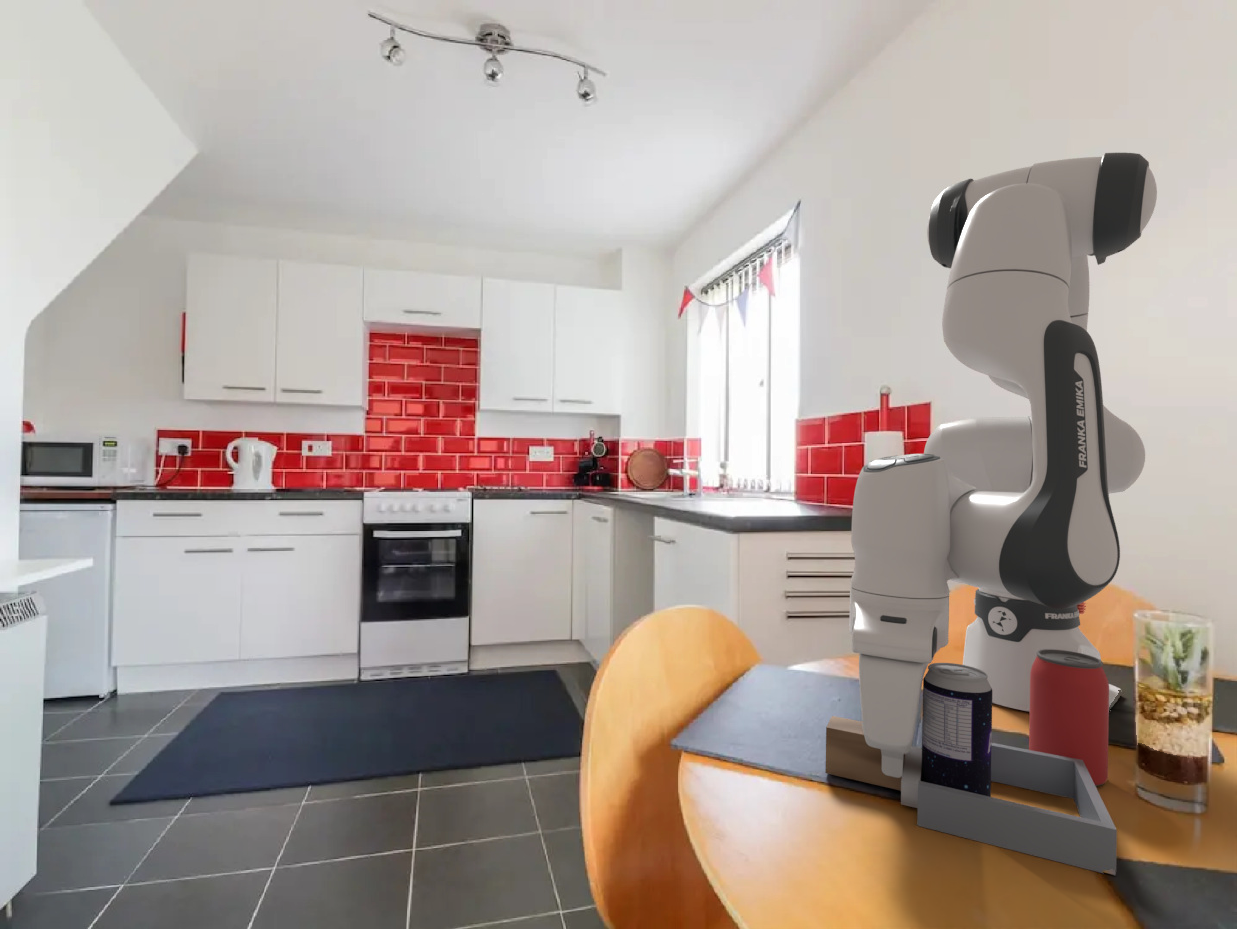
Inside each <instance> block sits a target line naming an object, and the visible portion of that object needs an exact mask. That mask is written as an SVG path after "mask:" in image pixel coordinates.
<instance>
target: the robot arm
mask: <svg viewBox="0 0 1237 929" xmlns="http://www.w3.org/2000/svg"><path fill="white" fill-rule="evenodd" d="M1149 163H1150V162H1149V160H1147V159H1146V158H1145V157H1144V156H1143V155H1142V154H1140V153H1135V152H1105V153H1104V154H1103V155H1102V156H1090V157H1087V156H1086V157H1077V158H1065V159H1057V160H1049V161H1042V162H1037V163H1036V162H1035V163H1034V164H1033V165H1030V166H1024V167H1021V168H1019V167H1018V168H1016V169H1015V168H1014V169H1011V170H1006V171H1002V172H999V173H995V174H991V175H988V176H984V177H981V178H979V179H978V178H977V179H975V180H974V178H968V179H964V180H962V181H959V182H957V183H954V184H951V185H950V186H948V187H945V188H944V189H943V190H942V191H941V192H940V193H939V195H938V196H937V197H936V198H935V199H934V201H933V203H932V206H931V209H930V212H929V213H930V214H929V216H928V219H927V220H928V221H927V227H926V228H927V229H926V236H927V237H926V238H927V243H928V245H929V251H930V254H931V256H932V258H933V259H934V261H935V262H937V263H938V264H939V265H940V266H942V267H943V268H946V269H950V271H949V275H948V281H947V286H946V293H945V298H944V305H943V312H942V321H941V322H942V323H941V324H942V327H941V328H942V336H943V341H944V343H945V345H946V347H947V349H948V350H949V352H950V353H951V354H952V355H953V357H954V358H955V359H956V360H958V361H959V362H960V363H961V364H963V366H966V367H967V368H969V369H971V370H972V371H976V372H977V373H980V374H984V375H986V376H988V378H989V379H990V380H991V382H993V383H994V385H996V386H998V387H1000V388H1002V389H1004V390H1005V391H1007V392H1010V393H1012V394H1015V395H1017V396H1020V397H1023V398H1024V399H1028V400H1029V404H1030V411H1031V413H1030V414H1031V415H1030V416H1017V417H1016V416H1015V417H1014V416H1009V417H1008V416H1007V417H1006V416H1004V417H994V416H993V417H971V418H966V419H965V418H964V419H958V420H954V421H948V422H944V423H941V424H939V425H938V426H937V427H936V428H935V429H934V430H933V431H932V432H931V434H930V435H929V437H928V438H927V440H926V443H925V446H924V451H923V453H910V454H908V453H907V454H903V455H891V456H884V457H880V458H875V459H873V460H871V461H870V462H868V463H866V464H865V465H864V466H862V468H861V470H860V472H859V474H858V477H857V480H856V484H855V488H854V495H853V500H852V502H853V503H852V511H851V512H852V513H851V514H852V515H851V538H850V539H851V540H850V541H851V546H852V550H853V554H854V569H853V574H852V576H851V578H850V584H849V585H850V587H849V621H848V622H849V624H848V625H849V626H848V629H849V630H848V631H849V634H850V635H851V651H852V652H853V653H856V654H858V680H859V682H858V683H859V695H860V697H859V700H860V710H861V721H862V726H863V733H864V737H865V741H866V743H867V745H869V746H870V747H874V748H878V749H881V754H882V772H883V773H884V774H885V775H888V776H892V777H896V778H900V777H902V775H903V761H904V754H905V755H906V754H907V753H909V752H910V750H911V747H912V746H913V743H914V738H915V733H916V725H917V720H918V719H917V718H918V713H919V706H920V701H921V700H920V699H921V698H920V697H921V693H922V692H921V691H922V688H923V686H922V685H923V679H924V677H925V674H926V673H925V672H926V670H927V669H928V666H929V665H930V664H932V663H933V662H932V661H933V660H934V657H935V655H936V653H937V652H939V651H940V649H941V648H945V647H947V645H948V644H949V629H950V628H949V627H950V626H949V623H950V622H949V621H950V587H949V584H948V581H951V582H954V583H961V584H965V585H968V586H971V587H974V588H977V589H976V590H975V595H974V596H975V597H974V598H973V604H974V614H975V615H976V616H977V617H976V619H975V620H974V621H972V623H970V624H968V626H966V631H965V638H964V648H963V657H962V665H966V666H970V667H974V668H977V669H980V670H982V671H984V672H985V673H986V674H987V675H988V678H987V680H988V682H989V684H990V686H991V688H992V704H996V705H999V706H1002V707H1006V708H1011V709H1015V710H1020V711H1024V712H1029V713H1030V671H1031V668H1032V665H1033V663H1034V661H1035V659H1036V657H1037V654H1036V652H1037V651H1039V650H1044V649H1055V650H1065V651H1072V652H1077V653H1082V654H1086V655H1090V656H1093V657H1096V658H1098V659H1099V660H1101V661H1102V656H1101V653H1100V650H1098V649H1097V648H1096V647H1095V646H1094V645H1093V644H1092V642H1091V641H1090V640H1089V639H1088V638H1087V636H1086V635H1085V634H1084V633H1083V631H1081V629H1080V627H1079V626H1081V620H1080V615H1083V614H1084V613H1085V611H1086V607H1087V605H1086V604H1087V603H1086V601H1088V600H1090V599H1092V598H1093V597H1094V596H1096V595H1098V594H1099V593H1100V592H1101V591H1102V590H1104V589H1105V588H1106V587H1107V586H1108V585H1109V584H1110V583H1112V581H1113V580H1114V578H1115V576H1116V574H1117V571H1118V569H1119V564H1120V560H1121V548H1120V540H1119V534H1118V533H1119V532H1118V531H1117V530H1118V529H1117V526H1116V522H1115V518H1114V515H1113V511H1112V510H1113V509H1112V506H1111V501H1110V495H1109V494H1116V493H1123V492H1125V491H1126V490H1128V489H1129V488H1130V487H1131V486H1132V485H1134V483H1135V482H1136V481H1137V480H1138V478H1139V477H1140V475H1141V474H1142V471H1143V469H1144V467H1145V462H1146V450H1145V449H1146V448H1145V445H1144V443H1143V440H1142V438H1141V436H1140V434H1139V433H1138V432H1137V431H1136V430H1135V429H1134V427H1132V426H1131V425H1130V424H1129V423H1128V422H1126V421H1125V420H1122V419H1121V418H1120V417H1118V416H1117V415H1115V414H1114V413H1112V412H1111V411H1110V410H1109V408H1107V407H1106V406H1105V405H1104V399H1103V387H1102V377H1101V375H1102V374H1101V368H1100V367H1101V366H1100V362H1099V357H1098V356H1099V355H1098V352H1097V348H1096V345H1095V343H1094V340H1093V338H1092V336H1091V335H1090V334H1089V332H1088V322H1089V320H1088V319H1089V306H1090V270H1089V267H1090V266H1089V261H1088V260H1089V259H1088V256H1090V257H1093V256H1094V257H1095V260H1096V263H1097V265H1098V266H1099V265H1102V264H1104V263H1105V262H1106V260H1107V258H1108V257H1110V256H1113V255H1115V254H1118V253H1119V252H1123V251H1125V250H1126V249H1128V248H1129V247H1130V246H1131V245H1132V244H1134V243H1136V241H1138V239H1140V238H1141V236H1142V233H1143V231H1144V229H1145V228H1146V227H1147V225H1148V224H1149V222H1150V219H1151V218H1152V216H1153V213H1154V211H1155V208H1156V204H1157V197H1158V195H1157V194H1158V189H1157V182H1156V179H1155V176H1154V174H1153V172H1152V170H1151V169H1150V164H1149ZM1118 690H1121V691H1122V689H1121V688H1120V687H1117V686H1115V685H1113V684H1110V683H1109V707H1110V705H1111V703H1112V702H1113V701H1114V699H1115V697H1116V696H1117V695H1118V693H1119V691H1118Z"/></svg>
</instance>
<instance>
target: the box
mask: <svg viewBox="0 0 1237 929" xmlns="http://www.w3.org/2000/svg"><path fill="white" fill-rule="evenodd" d="M991 782H994V783H997V784H998V783H999V784H1003V785H1009V786H1012V787H1016V788H1021V789H1022V788H1023V789H1026V790H1031V791H1037V792H1040V793H1045V794H1049V795H1054V796H1059V797H1064V798H1068V799H1073V801H1074V804H1075V806H1076V808H1077V812H1078V814H1079V816H1077V815H1074V814H1073V815H1072V814H1067V813H1063V812H1061V811H1054V810H1050V809H1045V808H1041V807H1038V806H1033V805H1029V804H1025V803H1024V804H1023V803H1019V802H1015V801H1010V800H1006V799H1001V798H999V797H998V798H997V797H993V796H991V797H989V796H985V795H980V794H976V793H971V792H967V791H962V790H958V789H954V788H949V787H945V786H940V785H936V784H931V783H927V782H923V781H918V808H917V818H916V820H917V822H916V823H917V824H916V825H917V826H918V827H921V828H926V829H930V830H933V831H936V832H940V833H941V832H942V833H944V834H947V835H953V836H957V837H961V838H963V839H968V840H973V841H976V842H979V843H983V844H987V845H992V846H996V847H999V848H1003V849H1007V850H1011V851H1015V852H1018V853H1021V854H1022V853H1023V854H1027V855H1030V856H1035V857H1038V858H1042V859H1046V860H1049V861H1055V862H1059V863H1061V864H1062V863H1063V864H1065V865H1070V866H1073V867H1077V868H1081V869H1083V870H1084V869H1085V870H1090V871H1091V872H1095V873H1096V872H1097V873H1100V874H1104V873H1103V871H1105V870H1110V869H1113V870H1116V871H1117V846H1118V844H1117V843H1118V842H1117V840H1118V836H1117V835H1118V833H1117V832H1118V830H1117V828H1116V826H1115V823H1114V822H1113V819H1112V818H1111V815H1110V813H1109V811H1108V808H1107V807H1106V805H1105V803H1104V801H1103V799H1102V797H1101V795H1100V793H1099V790H1098V788H1097V786H1095V784H1094V782H1093V780H1092V778H1091V776H1090V774H1089V772H1088V770H1087V768H1086V766H1085V764H1084V762H1083V760H1079V759H1074V758H1069V757H1064V756H1059V755H1053V754H1048V753H1043V752H1038V751H1032V750H1029V749H1026V748H1021V747H1017V746H1010V745H1005V744H1001V743H997V742H996V743H995V742H992V745H991Z"/></svg>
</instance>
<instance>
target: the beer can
mask: <svg viewBox="0 0 1237 929" xmlns="http://www.w3.org/2000/svg"><path fill="white" fill-rule="evenodd" d="M1036 654H1037V657H1036V659H1035V661H1034V663H1033V665H1032V668H1031V671H1030V712H1029V727H1028V730H1029V732H1028V733H1029V734H1028V750H1032V751H1038V752H1043V753H1048V754H1053V755H1059V756H1064V757H1069V758H1074V759H1079V760H1083V762H1084V764H1085V766H1086V768H1087V770H1088V772H1089V774H1090V776H1091V778H1092V780H1093V782H1094V784H1095V786H1096V787H1098V786H1099V787H1100V786H1102V785H1104V784H1105V783H1106V781H1108V778H1109V777H1108V776H1109V732H1110V731H1109V729H1110V728H1109V724H1110V723H1109V722H1110V718H1109V716H1110V714H1109V713H1110V712H1109V684H1110V683H1109V679H1108V677H1107V675H1106V673H1105V672H1106V671H1105V670H1104V668H1103V665H1104V662H1103V661H1102V659H1101V660H1099V659H1098V658H1096V657H1093V656H1090V655H1086V654H1082V653H1077V652H1072V651H1065V650H1055V649H1044V650H1039V651H1037V652H1036Z"/></svg>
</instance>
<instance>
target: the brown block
mask: <svg viewBox="0 0 1237 929" xmlns="http://www.w3.org/2000/svg"><path fill="white" fill-rule="evenodd" d="M825 729H826V730H825V731H826V732H825V771H824V773H825V774H828V775H833V776H836V777H840V778H845V779H849V780H854V781H858V782H862V783H867V784H871V785H875V786H880V787H884V788H888V789H892V790H897V791H900V805H904V806H907V807H912V808H916V809H918V781H921V771H922V747H918V746H913V745H912V747H911V750H910V752H909V753H907V754H904V761H903V775H902V777H900V778H896V777H892V776H888V775H885V774H884V773H883V772H882V754H881V749H878V748H874V747H870V746H869V745H867V743H866V741H865V737H864V733H863V726H862V720H861V721H860V720H855V719H851V718H844V717H840V716H834V715H832V716H831V717H830V719H829V721H828V723H827V725H826V727H825Z"/></svg>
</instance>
